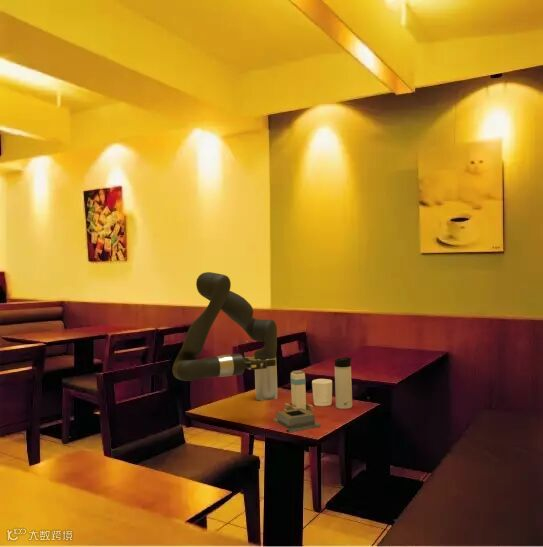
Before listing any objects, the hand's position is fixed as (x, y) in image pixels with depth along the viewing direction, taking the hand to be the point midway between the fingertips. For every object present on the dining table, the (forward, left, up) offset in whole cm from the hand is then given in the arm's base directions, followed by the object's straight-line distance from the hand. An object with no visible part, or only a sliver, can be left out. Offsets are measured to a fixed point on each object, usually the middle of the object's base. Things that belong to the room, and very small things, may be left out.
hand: (270, 360), depth 205 cm
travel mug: (+5, +28, -21) cm, 36 cm away
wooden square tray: (0, +11, -21) cm, 24 cm away
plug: (0, +11, -20) cm, 23 cm away
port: (+13, +3, -21) cm, 25 cm away
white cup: (-3, +23, -21) cm, 32 cm away
